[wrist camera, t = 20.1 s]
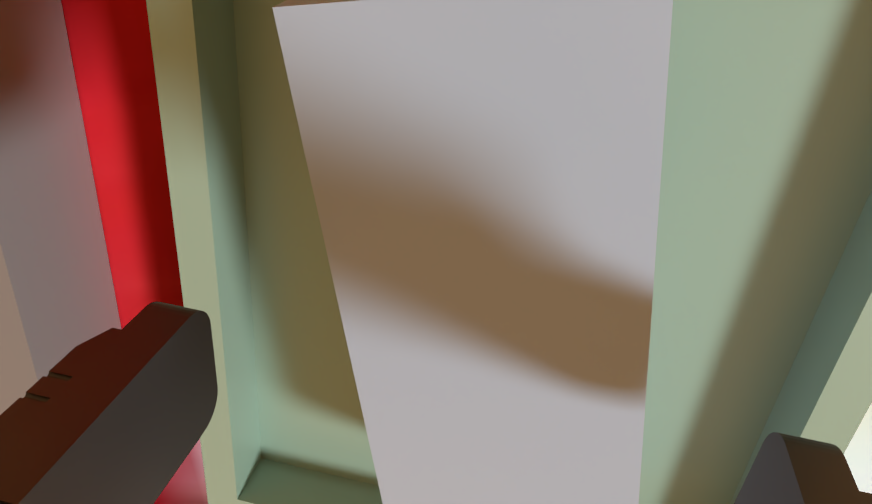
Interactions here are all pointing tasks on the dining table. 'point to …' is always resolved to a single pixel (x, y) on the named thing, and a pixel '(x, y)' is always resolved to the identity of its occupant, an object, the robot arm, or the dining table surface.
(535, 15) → the tall grey bar
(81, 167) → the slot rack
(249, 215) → the tray
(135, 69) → the dining table surface
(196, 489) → the dining table surface
